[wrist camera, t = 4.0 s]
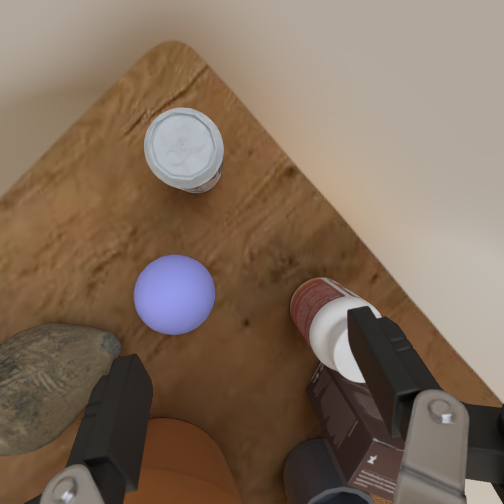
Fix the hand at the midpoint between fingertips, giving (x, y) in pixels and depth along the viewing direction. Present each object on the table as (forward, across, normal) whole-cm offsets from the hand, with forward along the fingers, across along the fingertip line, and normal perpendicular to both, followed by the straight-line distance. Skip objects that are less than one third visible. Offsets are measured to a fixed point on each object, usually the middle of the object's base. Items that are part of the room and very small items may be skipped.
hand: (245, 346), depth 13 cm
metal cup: (+9, -3, +32) cm, 33 cm away
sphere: (+18, +7, +9) cm, 21 cm away
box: (+13, -7, +23) cm, 28 cm away
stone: (+15, +20, +13) cm, 29 cm away
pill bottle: (+17, -7, +15) cm, 23 cm away
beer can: (+22, +2, 0) cm, 23 cm away
